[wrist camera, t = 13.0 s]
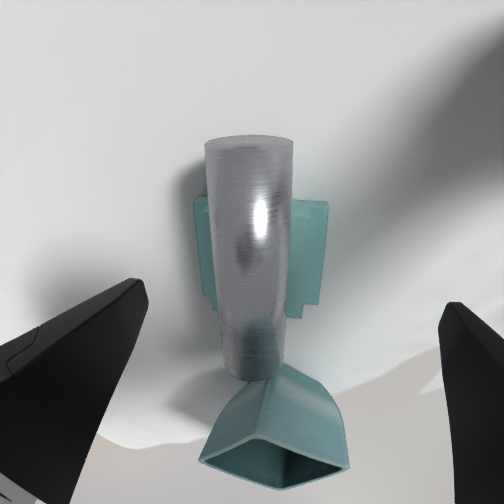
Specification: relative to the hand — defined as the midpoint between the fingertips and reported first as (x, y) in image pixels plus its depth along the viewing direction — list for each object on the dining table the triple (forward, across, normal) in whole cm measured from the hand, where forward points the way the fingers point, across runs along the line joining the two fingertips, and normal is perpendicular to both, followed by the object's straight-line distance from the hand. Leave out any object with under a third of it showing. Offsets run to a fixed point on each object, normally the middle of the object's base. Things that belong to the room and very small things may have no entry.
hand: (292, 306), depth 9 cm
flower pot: (+11, +1, +19) cm, 22 cm away
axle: (+9, +3, +4) cm, 11 cm away
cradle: (+11, +3, +5) cm, 13 cm away
